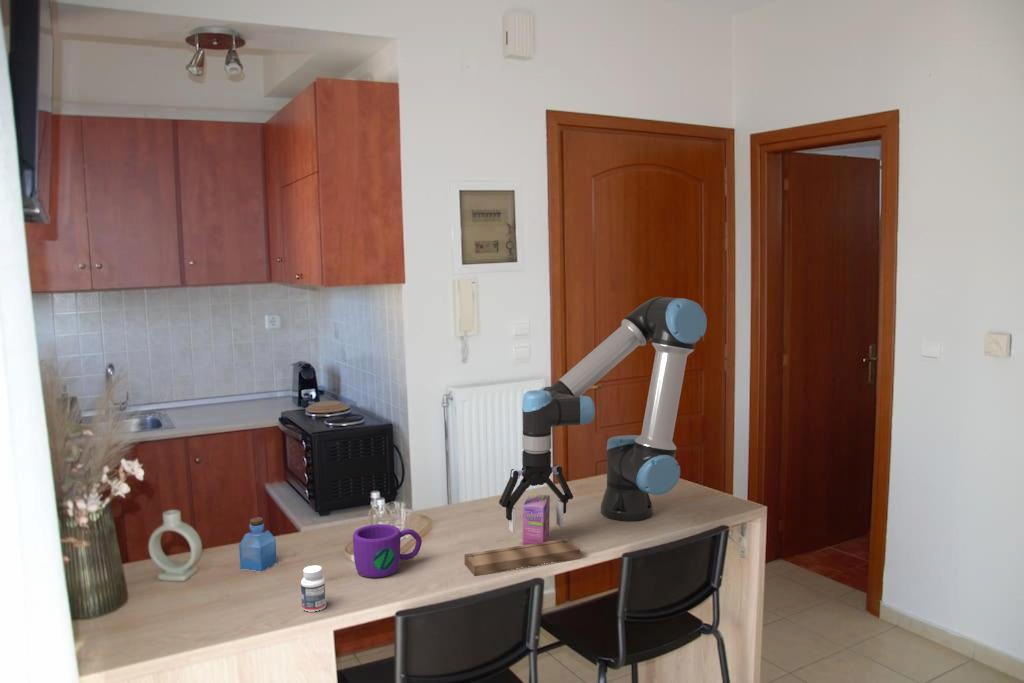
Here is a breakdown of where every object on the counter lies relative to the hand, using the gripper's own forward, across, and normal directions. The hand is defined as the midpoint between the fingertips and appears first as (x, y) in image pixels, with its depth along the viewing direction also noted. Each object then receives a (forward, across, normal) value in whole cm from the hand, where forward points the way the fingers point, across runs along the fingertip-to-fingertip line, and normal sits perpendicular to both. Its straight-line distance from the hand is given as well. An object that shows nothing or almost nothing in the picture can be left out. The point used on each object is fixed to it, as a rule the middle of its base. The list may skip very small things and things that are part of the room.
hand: (536, 528), depth 211 cm
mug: (+5, +40, +1) cm, 40 cm away
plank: (+4, +8, +10) cm, 13 cm away
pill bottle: (+5, +60, +16) cm, 62 cm away
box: (+5, 0, -1) cm, 5 cm away
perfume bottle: (+6, +70, -13) cm, 71 cm away
